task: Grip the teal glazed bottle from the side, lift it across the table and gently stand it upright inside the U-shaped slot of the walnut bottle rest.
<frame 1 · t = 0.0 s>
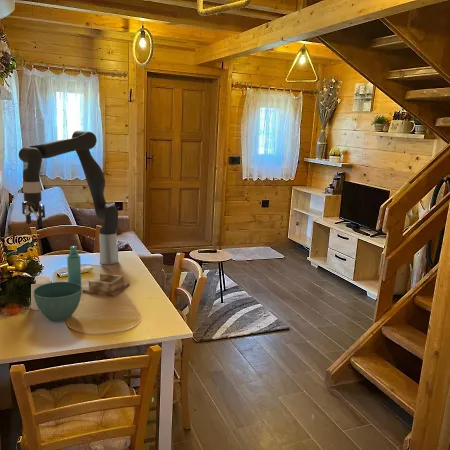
hand: (34, 225, 215), 29 cm above the table, tool pointing down, fingers open, 8 cm apart
bottle rest: (106, 288, 219), on the table
teal bowl: (59, 317, 186), on the table
bottle: (74, 284, 223), on the table
candle holder: (41, 306, 196), on the table
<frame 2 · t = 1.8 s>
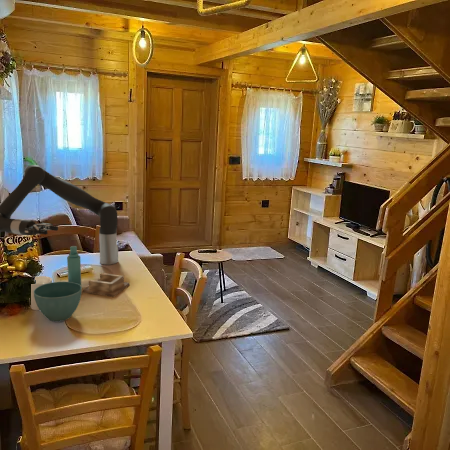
hand: (52, 230, 220), 26 cm above the table, tool horizontal, fingers open, 8 cm apart
nothing on the table moved.
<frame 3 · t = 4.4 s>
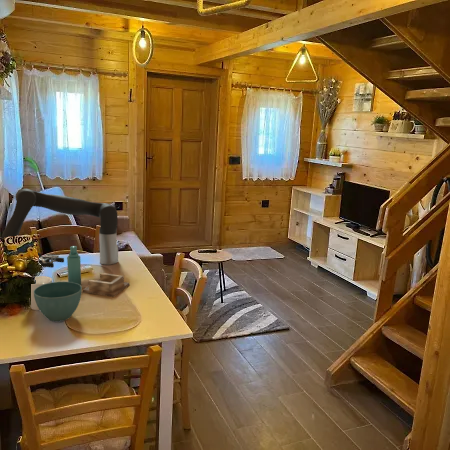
hand: (58, 262, 223), 10 cm above the table, tool horizontal, fingers open, 8 cm apart
nothing on the table moved.
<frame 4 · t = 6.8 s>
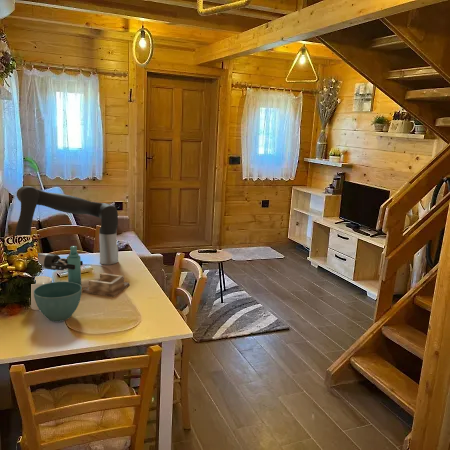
hand: (78, 265, 220), 10 cm above the table, tool horizontal, fingers closed on bottle, 6 cm apart
bottle: (74, 284, 223), on the table, touching gripper
everything else where it was.
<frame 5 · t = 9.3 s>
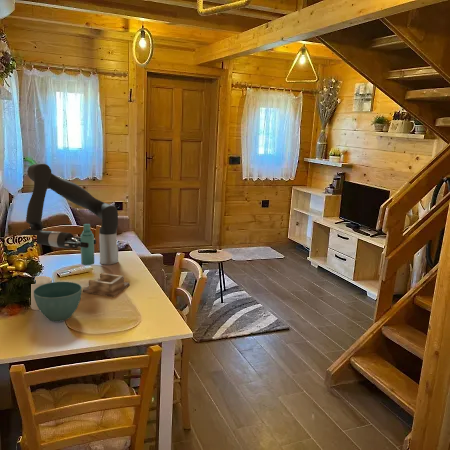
hand: (91, 243, 216), 22 cm above the table, tool horizontal, fingers closed on bottle, 6 cm apart
bottle: (87, 263, 219), point 12 cm above the table, touching gripper
everything else where it was.
when the fingers open (12 cm above the table, at t = 12.2 s): bottle drops 1 cm, resting on bottle rest.
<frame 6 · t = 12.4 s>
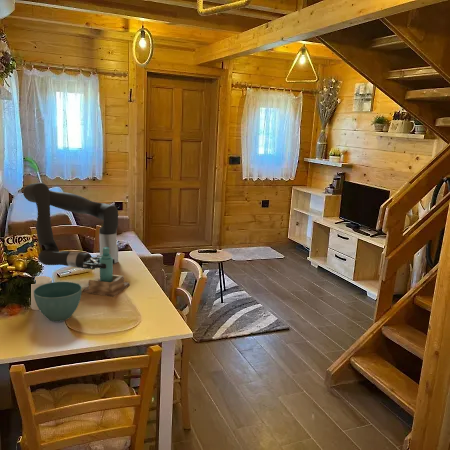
hand: (110, 263, 216), 13 cm above the table, tool horizontal, fingers open, 7 cm apart
bottle: (106, 286, 219), point 1 cm above the table, touching bottle rest
everything else where it was.
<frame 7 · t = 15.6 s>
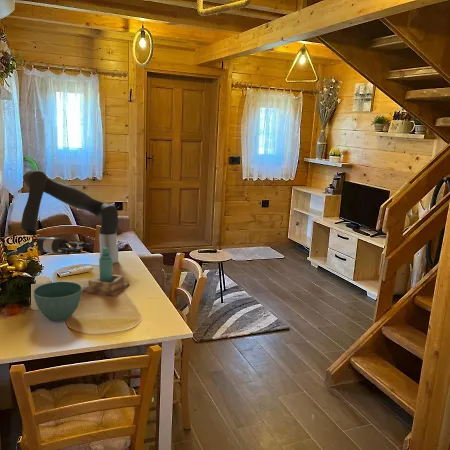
hand: (85, 248, 218), 19 cm above the table, tool horizontal, fingers open, 8 cm apart
nothing on the table moved.
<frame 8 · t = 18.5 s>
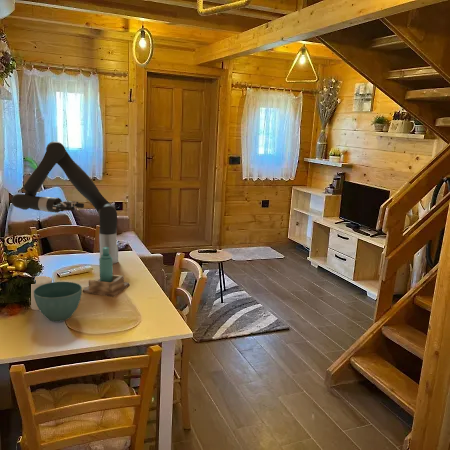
hand: (78, 207, 227), 36 cm above the table, tool horizontal, fingers open, 8 cm apart
nothing on the table moved.
at the end: bottle 0.1 cm off-centre on the bottle rest, point 1.2 cm above the bottle rest's base; bottle tilted 0°; the gripper is holding nothing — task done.
